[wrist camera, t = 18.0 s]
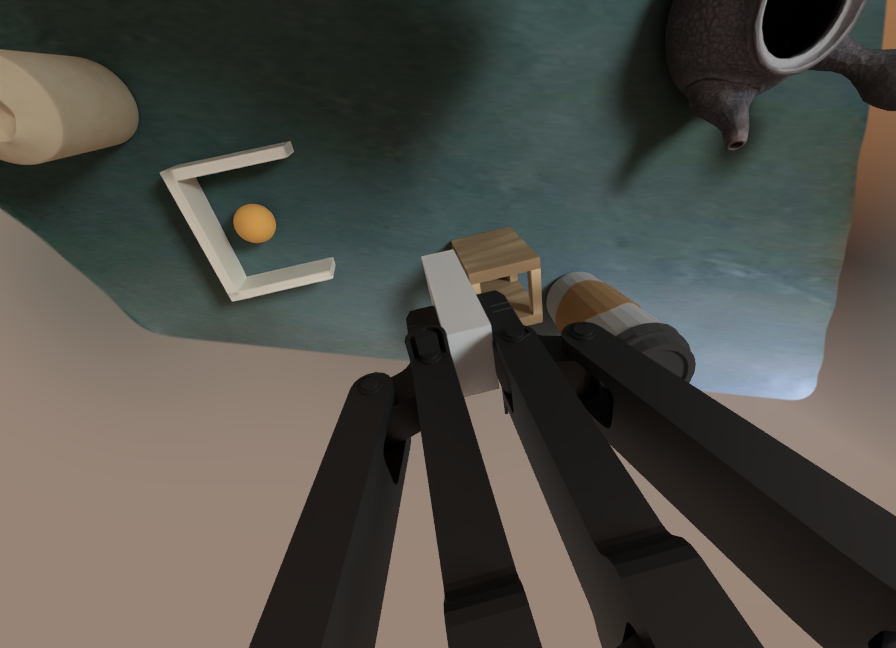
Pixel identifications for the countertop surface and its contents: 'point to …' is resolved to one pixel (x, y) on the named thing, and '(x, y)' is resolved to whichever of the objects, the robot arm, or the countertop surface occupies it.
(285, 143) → the white u-shaped corral
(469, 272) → the wooden cage
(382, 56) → the countertop surface
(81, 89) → the candle
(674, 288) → the countertop surface
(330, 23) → the countertop surface
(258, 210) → the ball
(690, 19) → the teapot
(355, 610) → the robot arm
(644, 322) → the coffee cup
